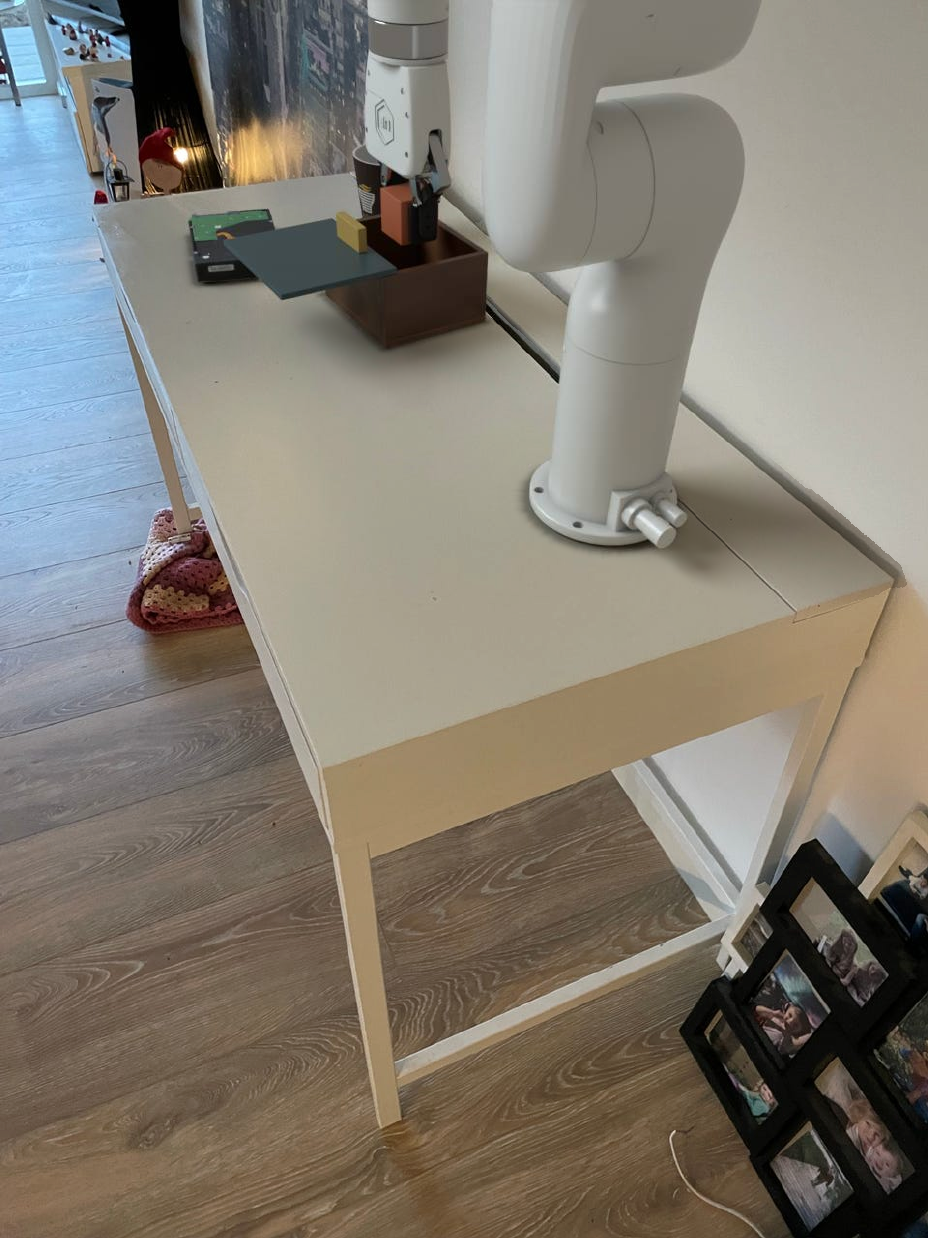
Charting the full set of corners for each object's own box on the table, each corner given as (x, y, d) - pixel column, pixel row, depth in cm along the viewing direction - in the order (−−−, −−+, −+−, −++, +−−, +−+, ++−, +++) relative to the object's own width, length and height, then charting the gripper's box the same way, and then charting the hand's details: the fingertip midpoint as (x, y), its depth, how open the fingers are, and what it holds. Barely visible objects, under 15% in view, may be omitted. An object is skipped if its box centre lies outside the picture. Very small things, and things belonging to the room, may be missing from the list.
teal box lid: (397, 273, 95) (396, 242, 93) (281, 300, 90) (278, 268, 88) (332, 223, 104) (330, 194, 101) (224, 245, 98) (219, 215, 96)
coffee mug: (349, 225, 123) (345, 143, 116) (413, 219, 125) (413, 139, 118) (370, 262, 115) (367, 177, 108) (438, 255, 117) (439, 171, 110)
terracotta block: (438, 237, 101) (438, 194, 98) (401, 245, 99) (401, 202, 96) (417, 222, 103) (417, 180, 100) (381, 230, 102) (379, 187, 99)
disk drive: (287, 278, 111) (271, 228, 121) (285, 255, 109) (268, 205, 119) (198, 286, 109) (189, 234, 119) (194, 263, 107) (185, 212, 117)
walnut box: (485, 321, 105) (488, 252, 99) (386, 348, 100) (383, 277, 94) (419, 272, 113) (419, 205, 108) (325, 294, 108) (319, 226, 103)
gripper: (332, 21, 92) (343, 211, 105) (419, 65, 82) (419, 269, 95) (399, 14, 95) (402, 200, 108) (491, 55, 85) (482, 254, 98)
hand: (410, 230), depth 101 cm, fingers closed on terracotta block, 4 cm apart
